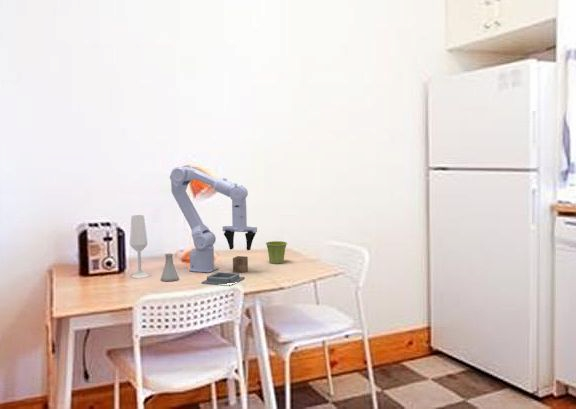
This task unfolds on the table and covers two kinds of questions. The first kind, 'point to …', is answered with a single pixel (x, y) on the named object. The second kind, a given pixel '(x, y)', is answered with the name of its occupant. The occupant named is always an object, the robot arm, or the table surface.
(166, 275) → the flask
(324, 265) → the table surface
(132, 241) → the champagne flute
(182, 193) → the robot arm
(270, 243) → the plant pot
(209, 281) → the holder
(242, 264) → the block
